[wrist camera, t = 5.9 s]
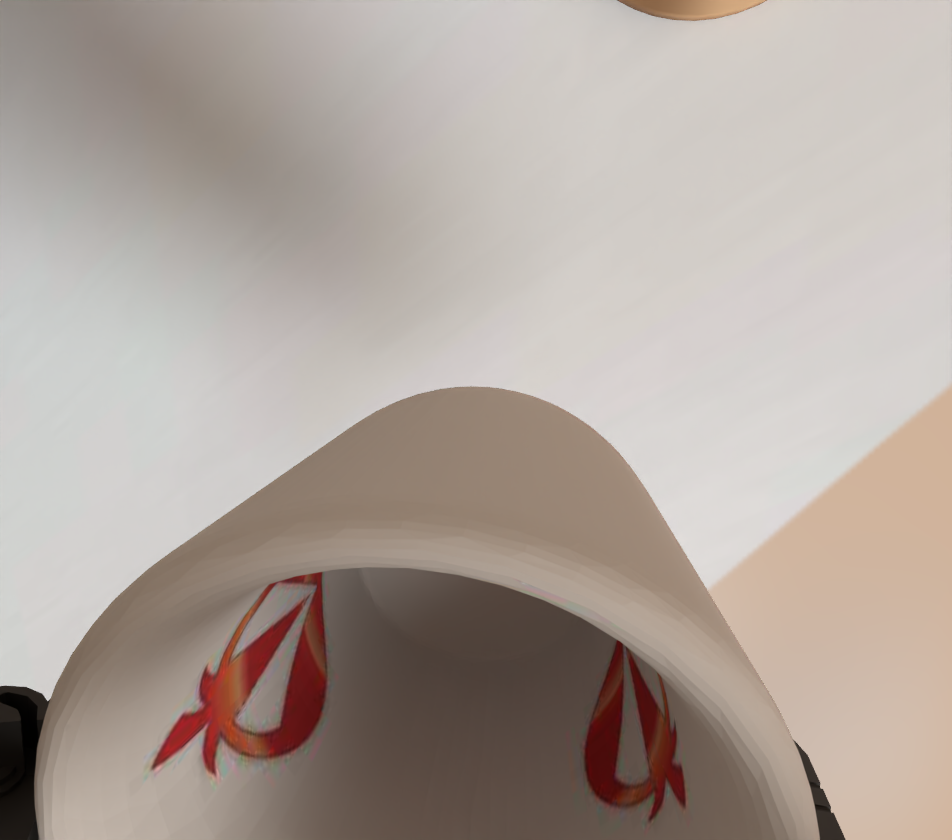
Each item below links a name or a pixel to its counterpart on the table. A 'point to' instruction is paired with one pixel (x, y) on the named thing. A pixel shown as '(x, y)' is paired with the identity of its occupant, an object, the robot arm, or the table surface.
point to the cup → (424, 658)
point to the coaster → (691, 8)
